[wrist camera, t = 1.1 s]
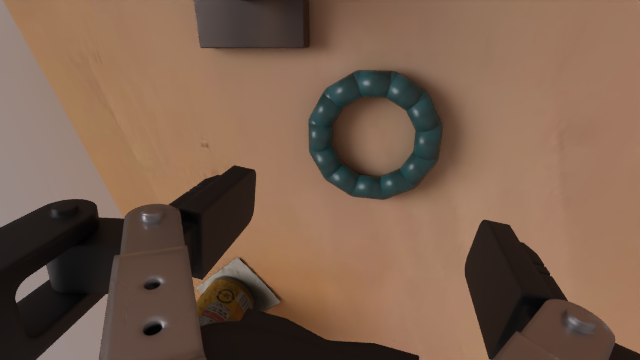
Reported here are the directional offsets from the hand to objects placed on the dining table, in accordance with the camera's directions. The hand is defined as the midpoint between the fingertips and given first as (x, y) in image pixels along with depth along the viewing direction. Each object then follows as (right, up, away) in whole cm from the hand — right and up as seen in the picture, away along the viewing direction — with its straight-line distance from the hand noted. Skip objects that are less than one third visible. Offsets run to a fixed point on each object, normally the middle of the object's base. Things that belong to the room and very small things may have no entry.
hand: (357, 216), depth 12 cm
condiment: (-11, -12, +28) cm, 33 cm away
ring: (+3, +5, +16) cm, 17 cm away
